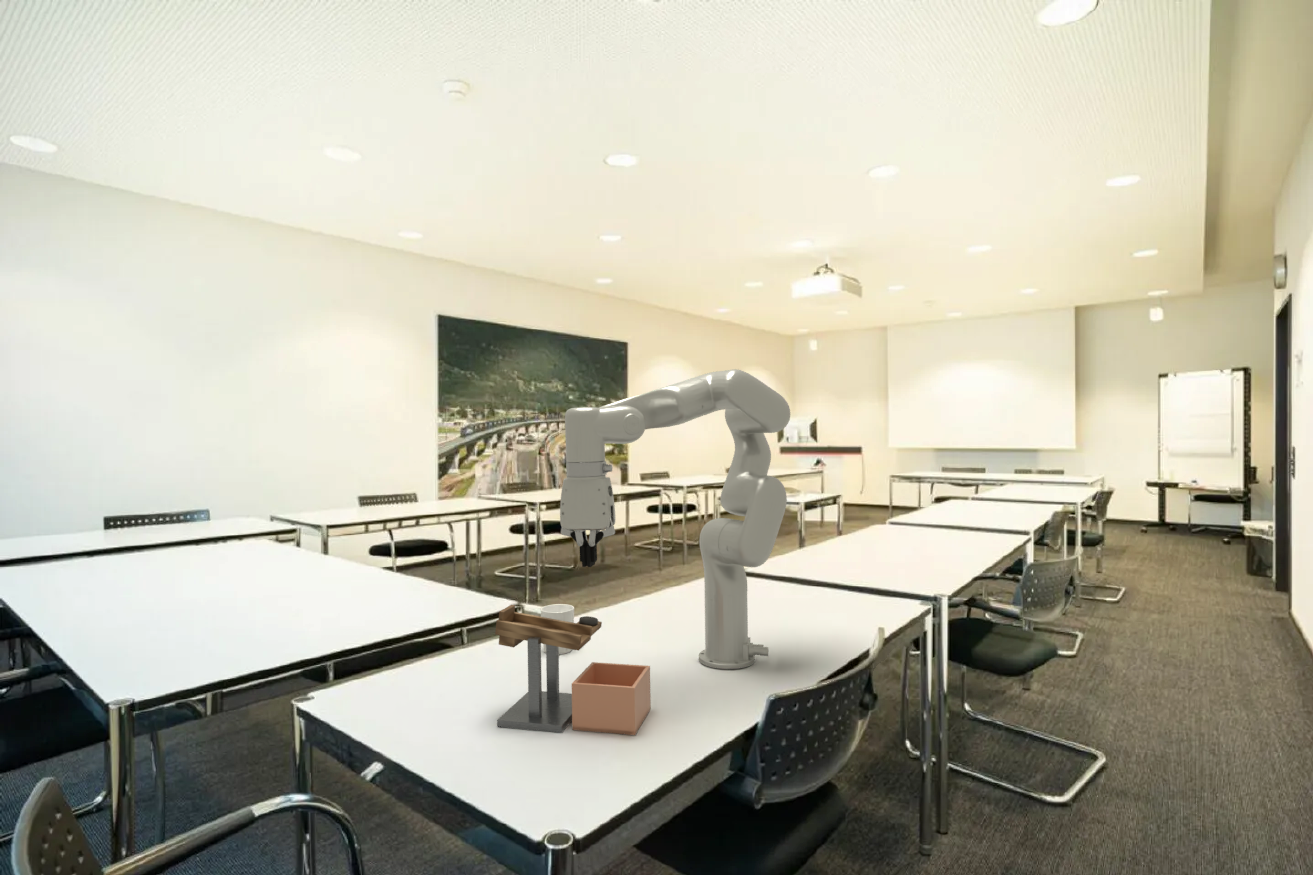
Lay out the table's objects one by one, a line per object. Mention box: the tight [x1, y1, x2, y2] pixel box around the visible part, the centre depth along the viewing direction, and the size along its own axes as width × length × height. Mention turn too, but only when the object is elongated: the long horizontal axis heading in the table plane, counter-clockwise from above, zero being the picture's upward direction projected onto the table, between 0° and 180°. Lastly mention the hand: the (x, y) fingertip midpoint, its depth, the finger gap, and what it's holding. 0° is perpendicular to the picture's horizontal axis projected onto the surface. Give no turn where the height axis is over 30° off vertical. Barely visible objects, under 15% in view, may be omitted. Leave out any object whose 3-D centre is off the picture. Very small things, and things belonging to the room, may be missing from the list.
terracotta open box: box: [571, 661, 652, 736], centre depth 122 cm, size 11×11×8 cm
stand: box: [496, 637, 572, 733], centre depth 125 cm, size 12×14×15 cm
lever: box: [494, 604, 603, 651], centre depth 129 cm, size 16×15×6 cm
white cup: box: [540, 603, 575, 655], centre depth 162 cm, size 8×8×10 cm
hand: (588, 565), depth 133 cm, fingers closed
